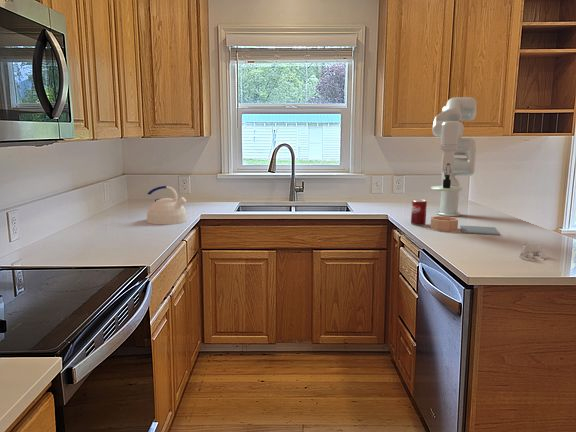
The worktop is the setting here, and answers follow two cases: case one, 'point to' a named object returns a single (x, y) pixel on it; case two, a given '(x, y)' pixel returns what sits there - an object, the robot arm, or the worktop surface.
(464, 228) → the mat
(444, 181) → the robot arm
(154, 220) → the kettle
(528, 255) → the fabric
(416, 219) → the soda can
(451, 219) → the bowl
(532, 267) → the worktop surface
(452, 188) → the lid
